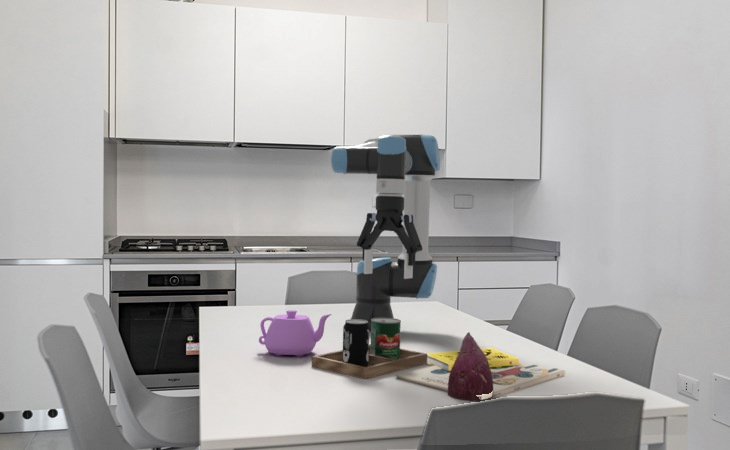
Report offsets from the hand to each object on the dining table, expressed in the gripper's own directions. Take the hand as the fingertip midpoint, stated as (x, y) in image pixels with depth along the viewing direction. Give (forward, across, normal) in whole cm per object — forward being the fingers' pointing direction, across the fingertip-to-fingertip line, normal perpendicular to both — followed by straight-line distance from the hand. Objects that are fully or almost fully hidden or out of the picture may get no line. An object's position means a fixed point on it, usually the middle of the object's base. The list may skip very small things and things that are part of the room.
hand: (387, 276), depth 189 cm
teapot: (+23, -23, -11) cm, 34 cm away
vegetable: (+23, +34, -12) cm, 43 cm away
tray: (+23, 0, -6) cm, 23 cm away
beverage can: (+23, 0, -12) cm, 26 cm away
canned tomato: (+23, 0, 0) cm, 23 cm away
